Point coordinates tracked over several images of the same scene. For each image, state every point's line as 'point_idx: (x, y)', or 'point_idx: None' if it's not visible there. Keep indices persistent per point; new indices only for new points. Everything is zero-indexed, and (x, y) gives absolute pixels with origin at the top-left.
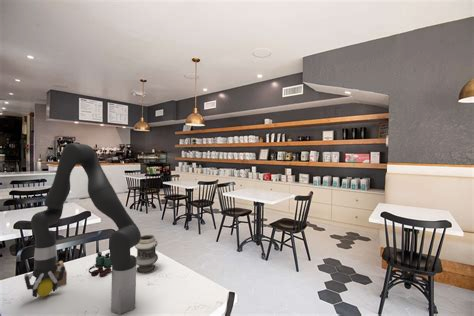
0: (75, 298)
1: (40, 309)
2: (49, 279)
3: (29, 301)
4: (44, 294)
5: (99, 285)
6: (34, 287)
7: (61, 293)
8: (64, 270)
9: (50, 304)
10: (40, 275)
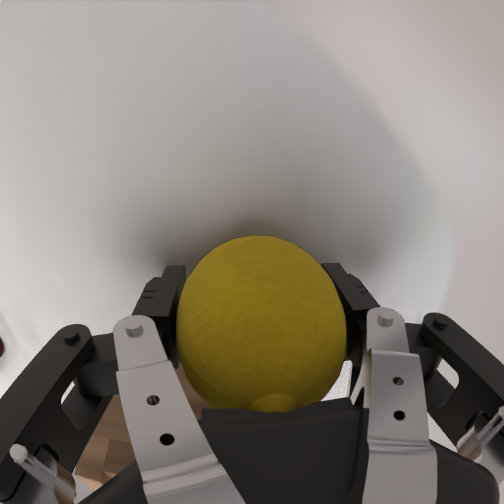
0: (51, 75)
1: (307, 68)
2: (212, 399)
3: (351, 271)
4: (267, 236)
5: None
6: (392, 322)
7: (127, 236)
8: (85, 451)
9: (225, 91)
10: (426, 477)
